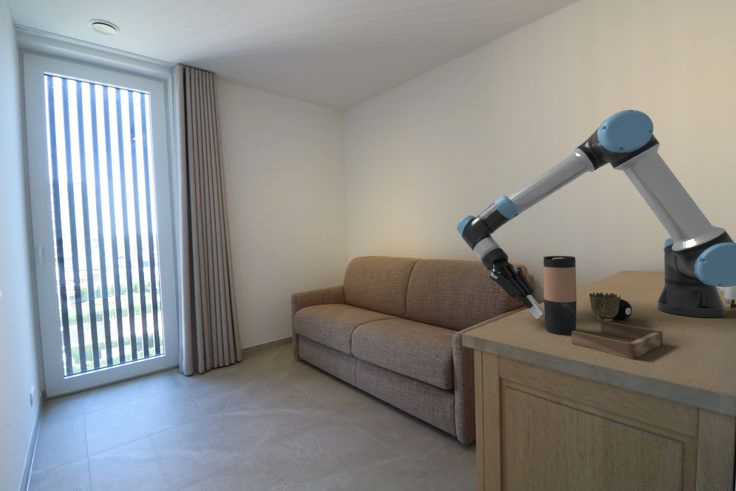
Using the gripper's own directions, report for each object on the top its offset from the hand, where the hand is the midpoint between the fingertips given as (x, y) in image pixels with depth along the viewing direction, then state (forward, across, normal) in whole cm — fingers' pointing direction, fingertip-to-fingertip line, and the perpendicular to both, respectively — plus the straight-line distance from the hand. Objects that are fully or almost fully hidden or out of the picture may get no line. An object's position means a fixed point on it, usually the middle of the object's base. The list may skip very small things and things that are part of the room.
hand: (541, 316), depth 97 cm
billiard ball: (+9, -24, +4) cm, 26 cm away
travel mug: (+6, 0, +2) cm, 6 cm away
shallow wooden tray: (+15, 0, +11) cm, 18 cm away
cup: (+8, -18, +4) cm, 20 cm away
